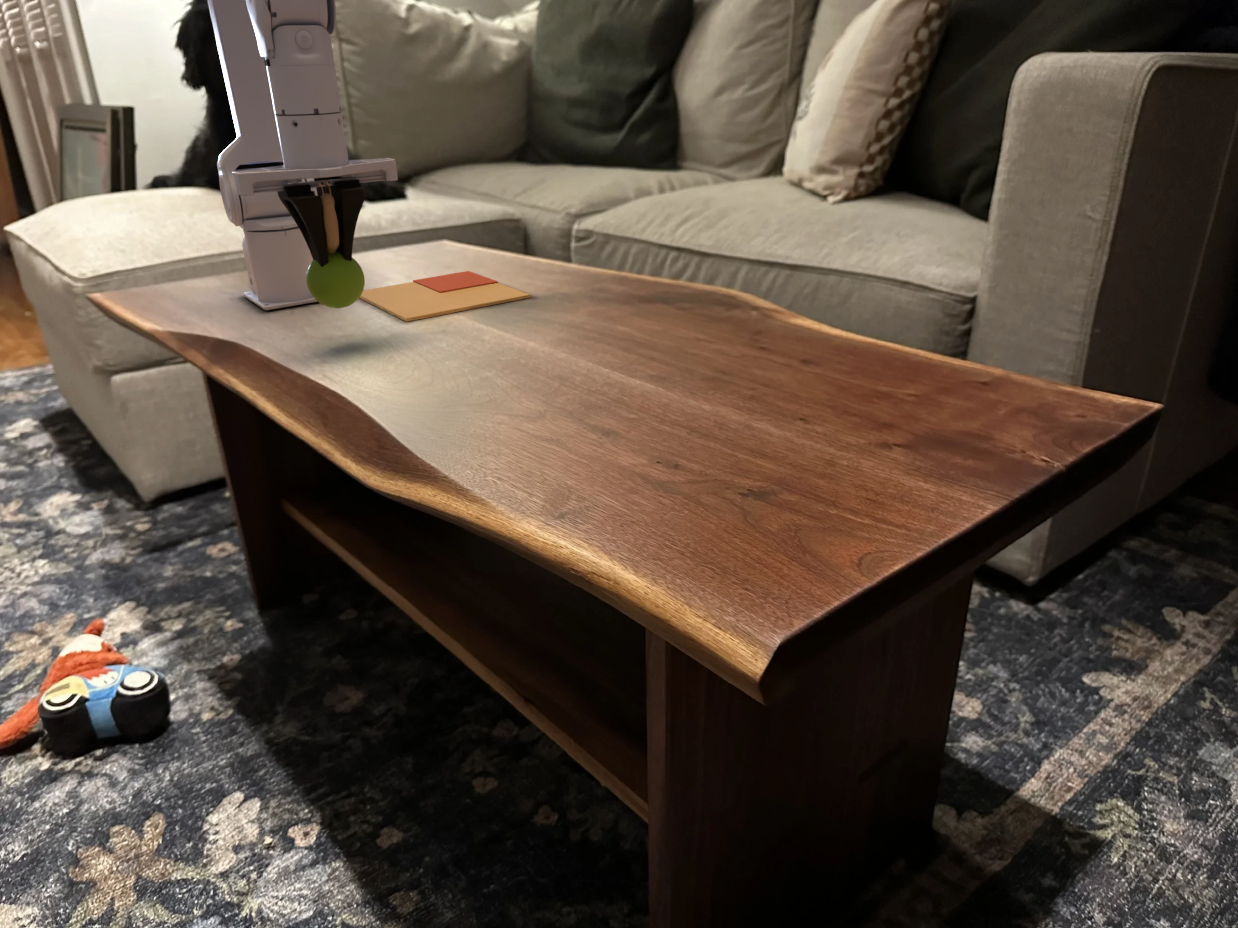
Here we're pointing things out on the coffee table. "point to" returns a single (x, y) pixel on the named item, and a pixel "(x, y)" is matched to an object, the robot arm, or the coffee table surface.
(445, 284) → the corner mat
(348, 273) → the snail figurine
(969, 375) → the coffee table surface
